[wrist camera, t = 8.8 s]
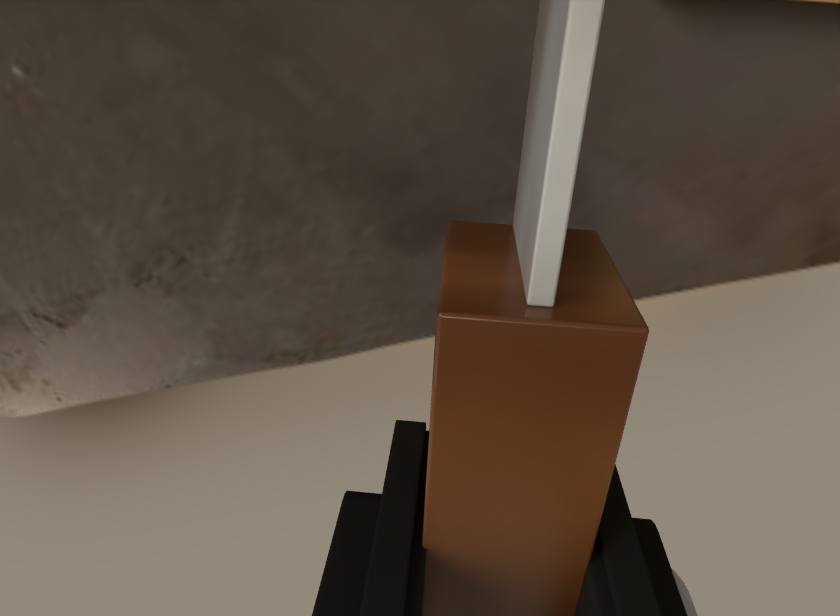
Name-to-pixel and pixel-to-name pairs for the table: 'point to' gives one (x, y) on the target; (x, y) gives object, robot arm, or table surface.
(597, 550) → the robot arm
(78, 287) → the table surface
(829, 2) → the board
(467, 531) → the knife
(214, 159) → the table surface
